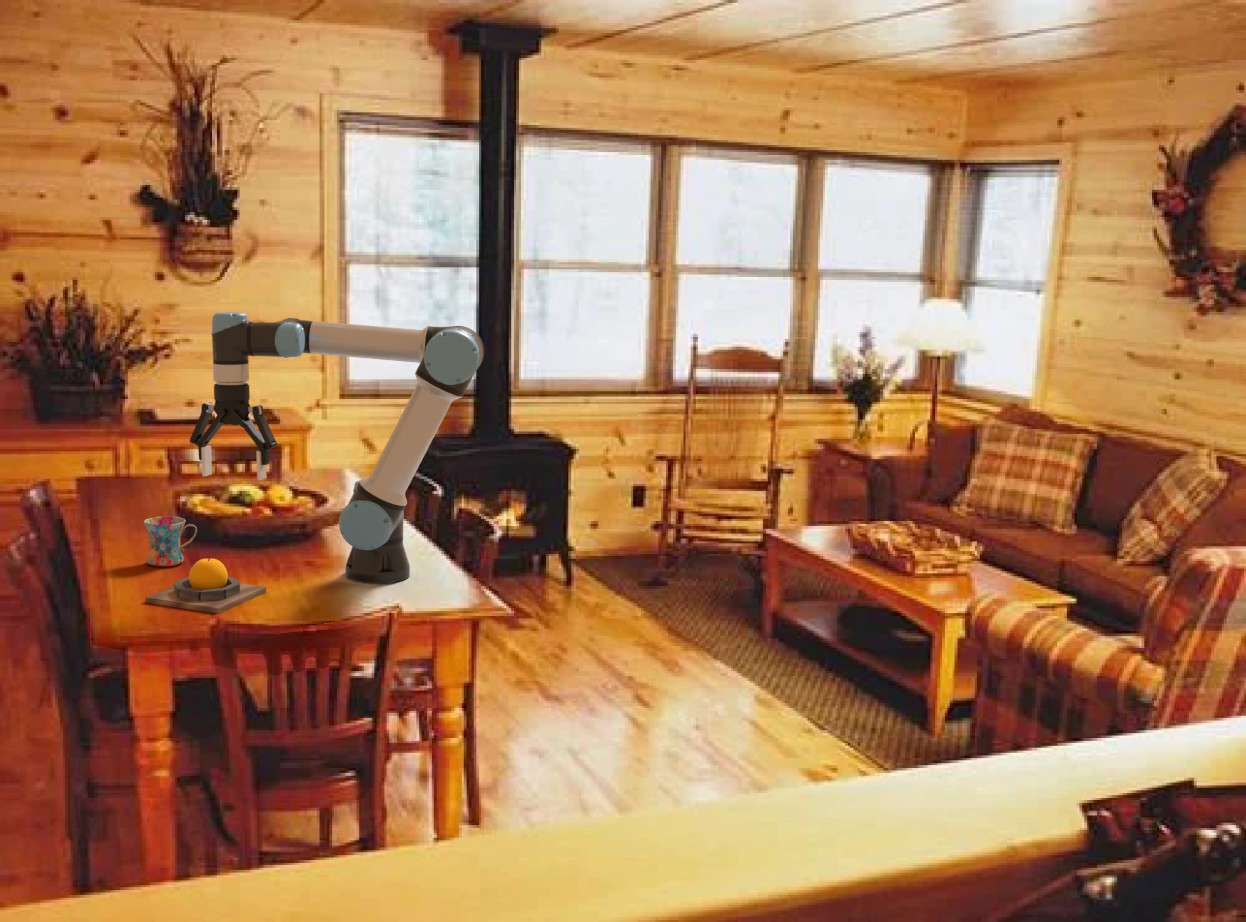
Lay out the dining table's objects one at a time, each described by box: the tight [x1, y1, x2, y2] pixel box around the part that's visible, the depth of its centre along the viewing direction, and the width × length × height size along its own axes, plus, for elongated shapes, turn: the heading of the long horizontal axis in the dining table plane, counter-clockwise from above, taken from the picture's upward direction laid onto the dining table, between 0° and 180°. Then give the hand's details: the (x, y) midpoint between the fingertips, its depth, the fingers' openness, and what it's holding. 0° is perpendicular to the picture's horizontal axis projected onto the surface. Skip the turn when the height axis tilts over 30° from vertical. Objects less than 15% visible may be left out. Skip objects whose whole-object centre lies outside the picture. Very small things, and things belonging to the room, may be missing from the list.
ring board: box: [144, 576, 267, 615], centre depth 270 cm, size 18×18×3 cm
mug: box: [143, 515, 198, 567], centre depth 295 cm, size 12×9×11 cm
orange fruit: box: [188, 557, 229, 590], centre depth 270 cm, size 8×8×8 cm
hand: (234, 477), depth 277 cm, fingers open, 13 cm apart
